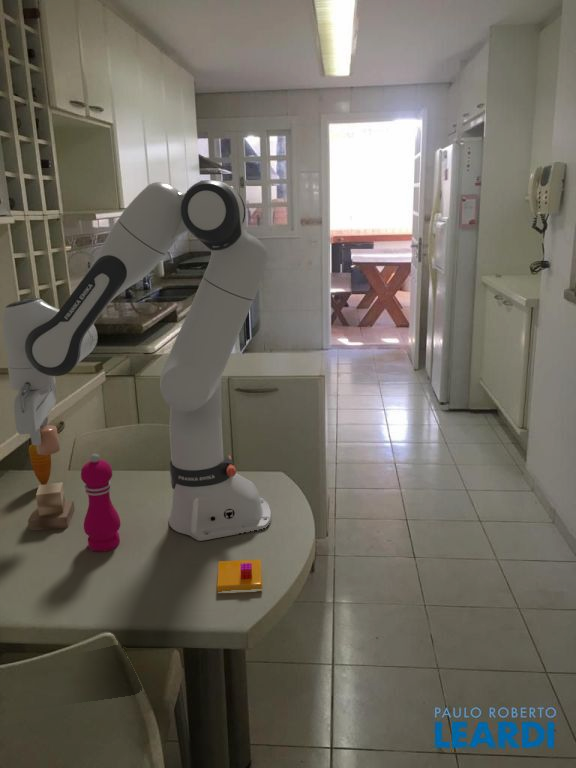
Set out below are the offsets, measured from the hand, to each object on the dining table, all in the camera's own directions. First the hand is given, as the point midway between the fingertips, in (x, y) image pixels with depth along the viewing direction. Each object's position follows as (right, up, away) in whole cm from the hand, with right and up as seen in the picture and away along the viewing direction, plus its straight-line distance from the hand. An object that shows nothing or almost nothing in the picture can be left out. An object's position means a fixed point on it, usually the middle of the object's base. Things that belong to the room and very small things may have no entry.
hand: (40, 439), depth 135 cm
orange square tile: (+44, -25, -18) cm, 54 cm away
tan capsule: (+1, -3, +1) cm, 3 cm away
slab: (0, -19, +6) cm, 20 cm away
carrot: (-8, -14, +23) cm, 28 cm away
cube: (0, -16, +5) cm, 17 cm away
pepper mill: (+15, -21, -5) cm, 27 cm away
